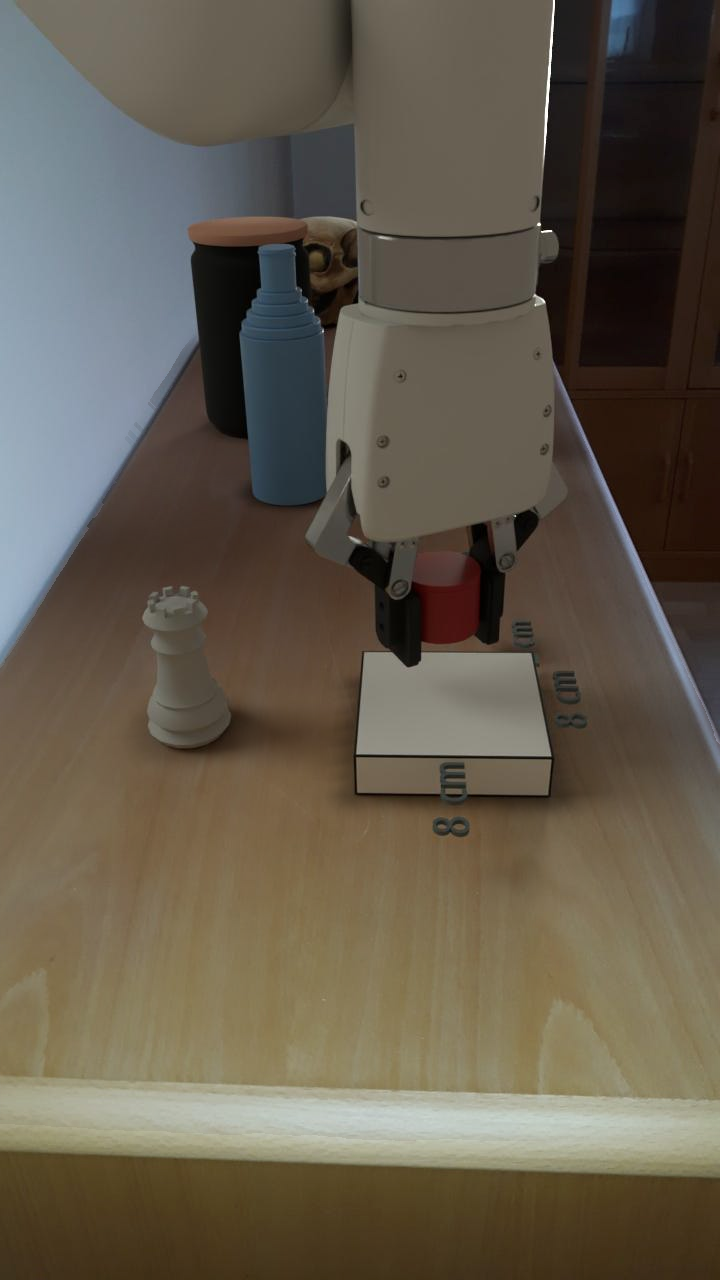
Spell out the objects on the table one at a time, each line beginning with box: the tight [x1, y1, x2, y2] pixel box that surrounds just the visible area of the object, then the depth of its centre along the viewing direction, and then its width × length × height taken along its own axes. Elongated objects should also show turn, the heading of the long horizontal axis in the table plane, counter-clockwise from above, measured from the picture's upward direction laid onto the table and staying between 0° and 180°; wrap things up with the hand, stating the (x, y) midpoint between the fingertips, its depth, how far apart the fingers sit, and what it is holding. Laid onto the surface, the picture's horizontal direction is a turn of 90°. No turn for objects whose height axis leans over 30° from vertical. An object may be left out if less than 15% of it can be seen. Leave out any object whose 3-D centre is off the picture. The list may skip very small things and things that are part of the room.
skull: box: [299, 215, 359, 327], centre depth 132 cm, size 16×17×13 cm
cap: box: [412, 550, 481, 645], centre depth 49 cm, size 4×4×3 cm
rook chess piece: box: [141, 585, 232, 750], centre depth 51 cm, size 4×4×8 cm
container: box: [353, 620, 588, 838], centre depth 51 cm, size 20×11×3 cm, turn 177°
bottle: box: [240, 244, 328, 506], centre depth 77 cm, size 6×6×19 cm
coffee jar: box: [187, 216, 312, 439], centre depth 92 cm, size 11×11×18 cm
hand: (439, 639), depth 51 cm, fingers closed on cap, 3 cm apart
